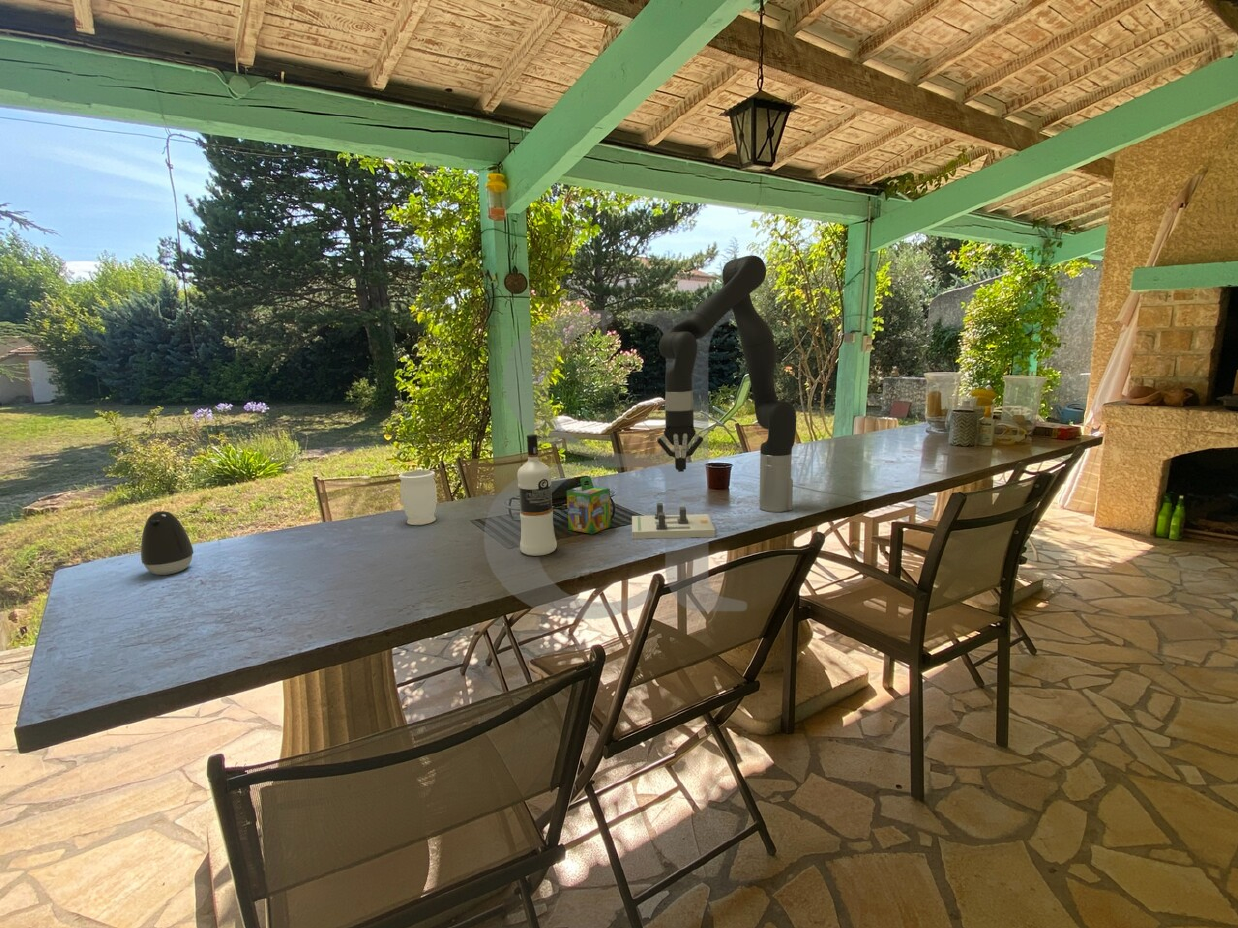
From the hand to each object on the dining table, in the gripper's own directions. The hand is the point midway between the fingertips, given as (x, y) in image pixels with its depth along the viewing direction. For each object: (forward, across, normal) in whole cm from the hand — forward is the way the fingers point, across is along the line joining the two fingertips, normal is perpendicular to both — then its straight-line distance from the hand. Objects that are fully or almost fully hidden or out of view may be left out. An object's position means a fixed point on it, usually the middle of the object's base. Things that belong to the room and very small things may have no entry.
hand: (680, 471), depth 166 cm
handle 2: (+14, +6, +5) cm, 16 cm away
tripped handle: (+14, 0, 0) cm, 14 cm away
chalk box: (+16, +26, -3) cm, 31 cm away
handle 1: (+14, +6, -5) cm, 16 cm away
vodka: (+16, +38, +15) cm, 44 cm away
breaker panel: (+16, +3, 0) cm, 17 cm away
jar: (+16, +78, -14) cm, 81 cm away
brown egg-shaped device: (+15, +127, +25) cm, 130 cm away
